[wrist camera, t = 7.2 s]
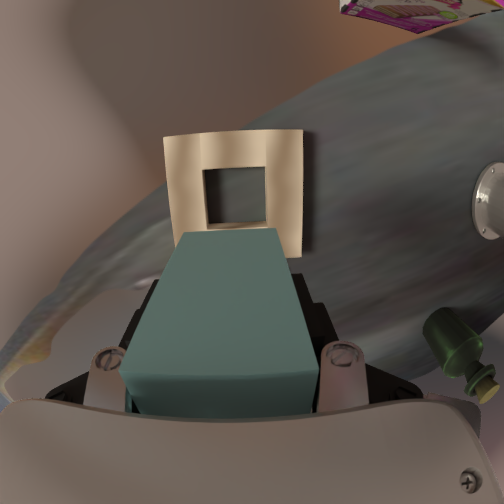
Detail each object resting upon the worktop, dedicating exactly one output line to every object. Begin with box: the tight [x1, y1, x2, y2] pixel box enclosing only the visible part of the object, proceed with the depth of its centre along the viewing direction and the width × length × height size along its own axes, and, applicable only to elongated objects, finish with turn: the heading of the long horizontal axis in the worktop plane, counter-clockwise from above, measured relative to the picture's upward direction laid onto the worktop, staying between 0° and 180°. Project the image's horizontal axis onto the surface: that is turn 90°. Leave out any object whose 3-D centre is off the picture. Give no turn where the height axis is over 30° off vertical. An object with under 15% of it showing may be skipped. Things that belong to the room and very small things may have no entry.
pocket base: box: [163, 130, 303, 258], centre depth 30 cm, size 14×14×2 cm
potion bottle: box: [423, 308, 500, 404], centre depth 32 cm, size 8×8×18 cm
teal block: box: [118, 228, 319, 419], centre depth 11 cm, size 4×4×9 cm
